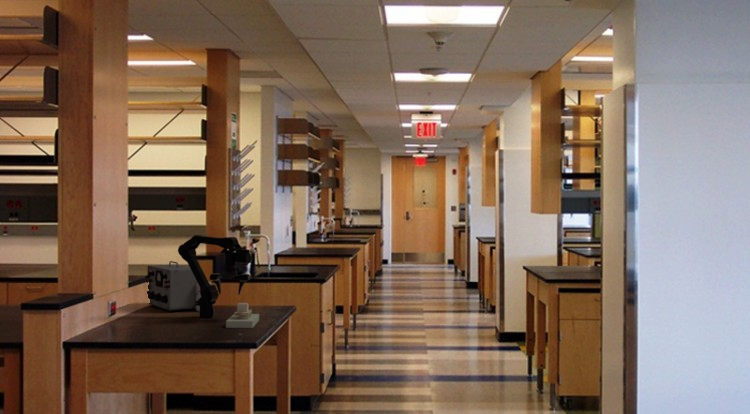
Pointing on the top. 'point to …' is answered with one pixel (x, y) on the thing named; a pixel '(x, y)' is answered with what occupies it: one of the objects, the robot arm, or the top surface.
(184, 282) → the vintage electronic device
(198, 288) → the supplement can
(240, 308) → the box
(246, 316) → the tall tan box
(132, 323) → the top surface
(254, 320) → the dock
